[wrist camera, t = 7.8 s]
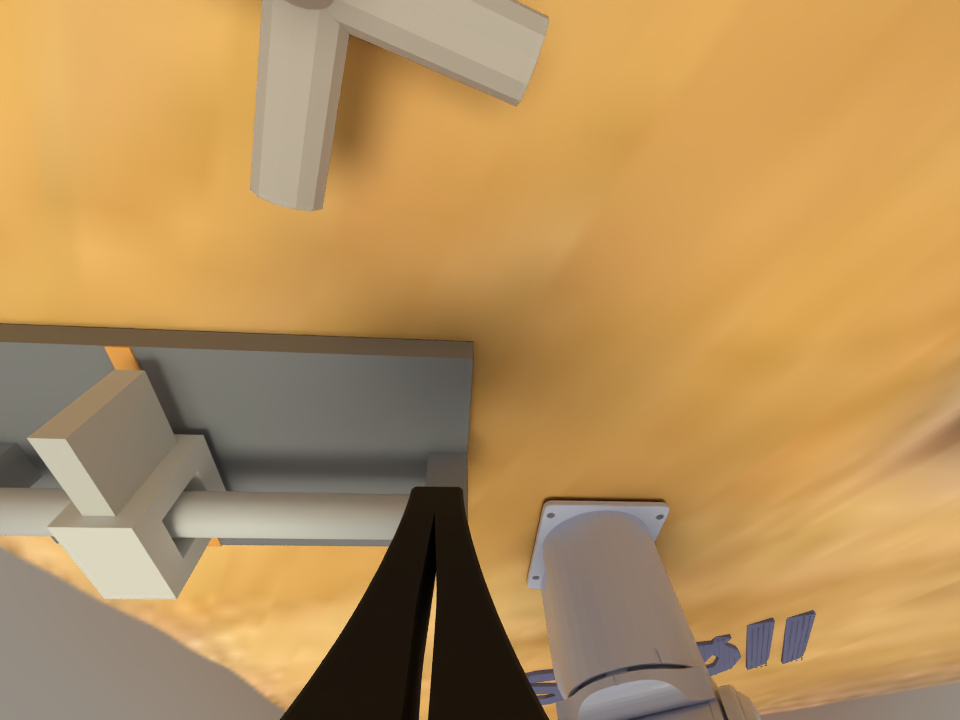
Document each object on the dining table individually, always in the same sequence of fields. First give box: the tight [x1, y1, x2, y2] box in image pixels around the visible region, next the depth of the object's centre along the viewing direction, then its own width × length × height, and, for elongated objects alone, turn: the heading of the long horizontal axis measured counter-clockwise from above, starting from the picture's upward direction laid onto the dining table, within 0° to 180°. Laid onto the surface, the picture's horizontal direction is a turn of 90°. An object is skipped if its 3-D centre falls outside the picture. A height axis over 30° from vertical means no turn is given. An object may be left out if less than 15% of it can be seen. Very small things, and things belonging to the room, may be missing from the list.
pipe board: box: [0, 324, 473, 546], centre depth 20 cm, size 14×24×6 cm, turn 86°
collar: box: [27, 370, 226, 599], centre depth 18 cm, size 9×3×5 cm, turn 176°
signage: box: [525, 610, 816, 705], centre depth 39 cm, size 28×1×10 cm
